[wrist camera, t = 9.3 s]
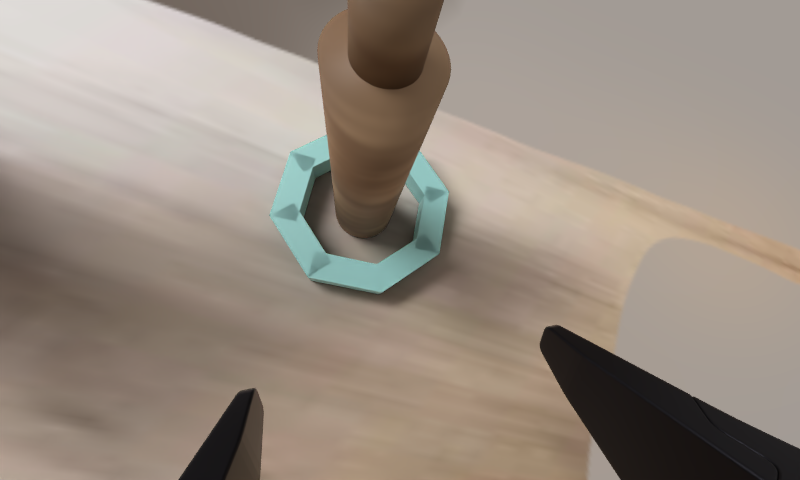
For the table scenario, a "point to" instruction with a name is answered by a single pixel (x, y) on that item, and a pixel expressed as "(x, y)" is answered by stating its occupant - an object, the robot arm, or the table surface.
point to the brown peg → (378, 102)
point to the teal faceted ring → (348, 271)
